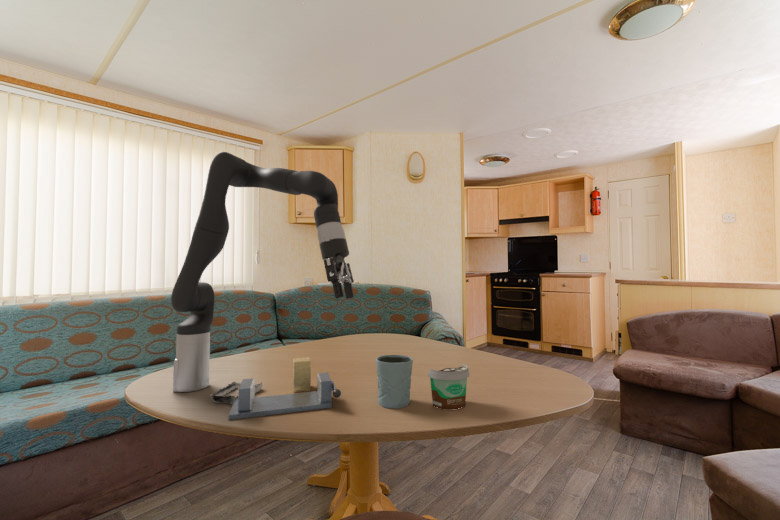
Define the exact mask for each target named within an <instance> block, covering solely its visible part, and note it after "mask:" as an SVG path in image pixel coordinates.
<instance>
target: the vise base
mask: <svg viewBox="0 0 780 520" xmlns="http://www.w3.org/2000/svg"><path fill="white" fill-rule="evenodd" d="M316 375H317V377H316V378H317V379H316V381H317V382H316V384H317V385H316V390H315V391H302V392H293V393H285V394H276V395H267V396H258V397H257V396H256V397H255V396H254V402H253V406H252V409H251V410H249V411H240V412H238V399H236V400H235V401H234V404H232V405H231V408H230V410H229V413H228V421H232V420H233V419H234V420H241V418H242V419H248V418H249V417H250V418H257V417H258V416H259V417H266V415H267V416H274V415H284V414H290V413H299V412H307V411H308V412H309V411H317V410H325V409H332V408H333V402H332V396H333V397H334V398H335V399H338V398H340V397H341V395H342V391H341V390H340V389H339V388H337V386H336V384H335V382H334V381H333V380H332V378H331V377H330V374H329V372H327V371H325V372H318V373H317V374H316ZM259 417H258V418H259ZM250 418H249V419H250Z"/></svg>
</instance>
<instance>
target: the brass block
mask: <svg viewBox="0 0 780 520" xmlns="http://www.w3.org/2000/svg"><path fill="white" fill-rule="evenodd" d="M292 359H293V362H292V364H293V365H292V366H293V367H292V368H293V370H292V371H293V372H292V373H293V374H292V375H293V376H292V378H293V379H292V382H293V383H292V385H293V388H292V390H293V392H292V393H303V392H311V376H312V375H311V373H312V372H311V371H312V370H311V365H312V363H311V358H310V357H295V358H294V357H293V358H292Z"/></svg>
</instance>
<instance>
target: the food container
mask: <svg viewBox="0 0 780 520" xmlns="http://www.w3.org/2000/svg"><path fill="white" fill-rule="evenodd" d="M427 373H428V375H427V377H428V378H430V379H429V380H430V389H431V399H432V406H435V407H438V408H441V409H440V410H443V409H458V408H461V407H463V406H464V405H465V406H466V398H467V397H466V396H467V386H468V385H467V383H468V382H467V381H468V378H469V377H470V376H471V375H470V370H469V368H468V365H466V364H465V363H462V365H461V366H459V367H445V368H443V369H440V370H437V369H436V370H435V369H432V368H429V371H428V372H427ZM435 407H434V408H435ZM438 408H437V409H438ZM463 408H464V407H463ZM458 410H459V409H458Z"/></svg>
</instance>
